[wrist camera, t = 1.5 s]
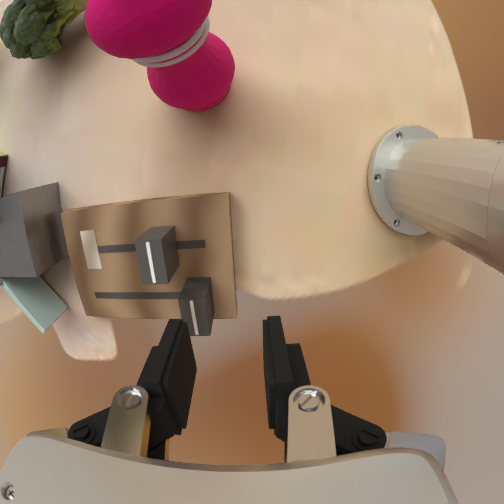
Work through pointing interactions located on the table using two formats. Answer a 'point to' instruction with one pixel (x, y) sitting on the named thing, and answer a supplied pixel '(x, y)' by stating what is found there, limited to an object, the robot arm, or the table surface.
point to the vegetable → (37, 25)
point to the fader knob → (157, 255)
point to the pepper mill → (166, 47)
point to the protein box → (2, 171)
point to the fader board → (127, 268)
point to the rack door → (35, 299)
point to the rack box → (31, 232)
